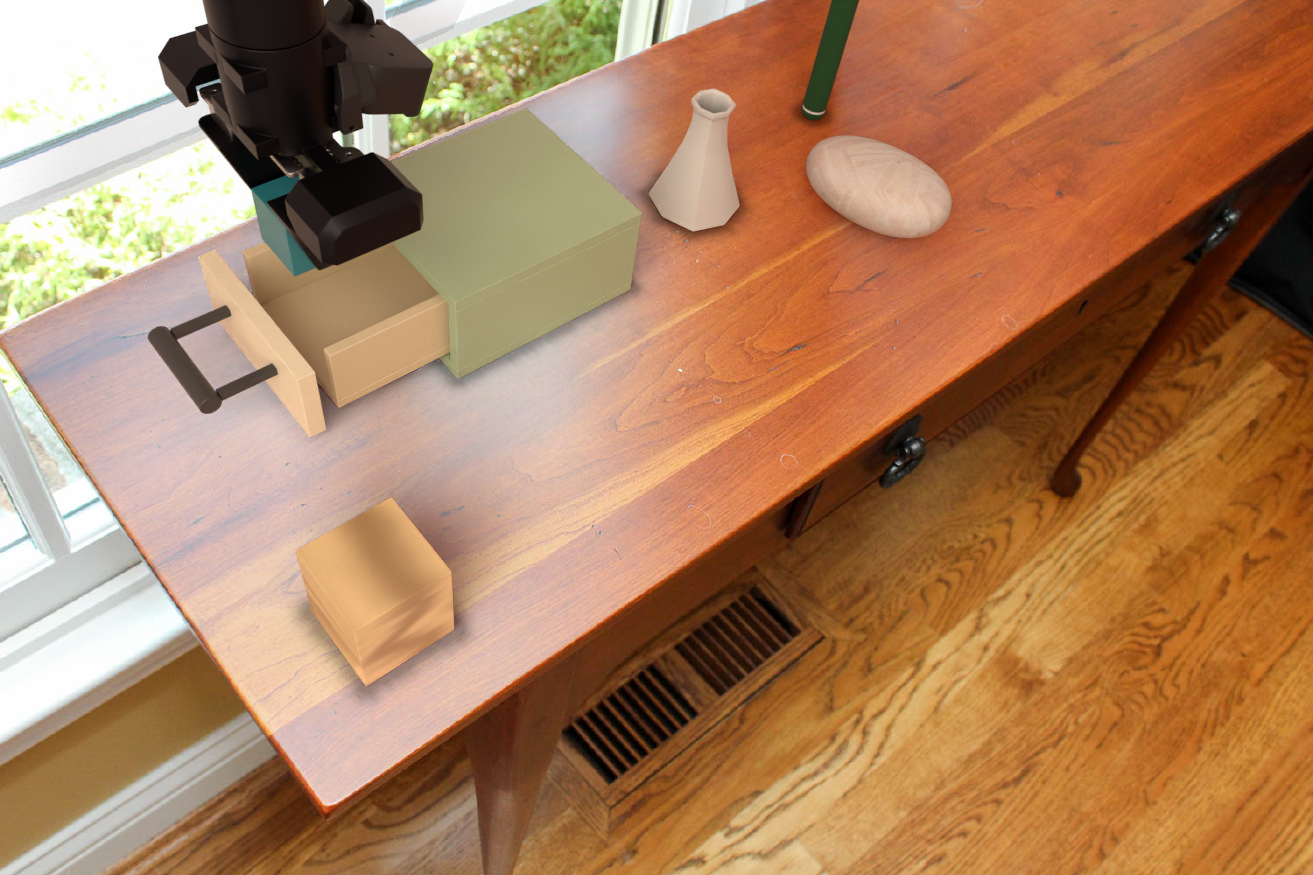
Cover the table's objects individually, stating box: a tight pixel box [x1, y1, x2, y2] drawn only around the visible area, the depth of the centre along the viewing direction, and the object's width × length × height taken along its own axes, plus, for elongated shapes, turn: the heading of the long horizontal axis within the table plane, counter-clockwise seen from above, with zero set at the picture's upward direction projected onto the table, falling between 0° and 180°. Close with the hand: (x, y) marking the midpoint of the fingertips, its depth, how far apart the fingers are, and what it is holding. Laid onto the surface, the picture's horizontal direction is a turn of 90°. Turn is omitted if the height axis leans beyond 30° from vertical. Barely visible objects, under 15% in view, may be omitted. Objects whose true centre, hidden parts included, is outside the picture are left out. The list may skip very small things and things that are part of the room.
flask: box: [648, 87, 741, 232], centre depth 85 cm, size 7×7×10 cm
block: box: [250, 175, 316, 277], centre depth 65 cm, size 4×4×4 cm
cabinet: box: [390, 107, 643, 380], centre depth 78 cm, size 16×14×8 cm
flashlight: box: [801, 0, 860, 122], centre depth 90 cm, size 5×5×20 cm
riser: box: [295, 496, 455, 687], centre depth 61 cm, size 6×6×7 cm
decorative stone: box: [805, 134, 953, 239], centre depth 89 cm, size 13×9×5 cm
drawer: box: [147, 241, 450, 439], centre depth 71 cm, size 20×13×6 cm, turn 130°
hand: (307, 245), depth 66 cm, fingers closed on block, 4 cm apart
